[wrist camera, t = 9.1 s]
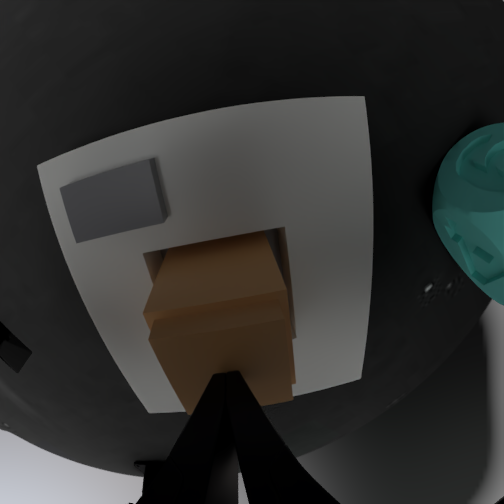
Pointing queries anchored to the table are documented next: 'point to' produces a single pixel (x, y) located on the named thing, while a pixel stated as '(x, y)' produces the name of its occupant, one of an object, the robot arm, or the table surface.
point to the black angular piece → (12, 349)
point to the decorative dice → (474, 207)
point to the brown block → (222, 318)
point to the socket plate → (225, 224)
